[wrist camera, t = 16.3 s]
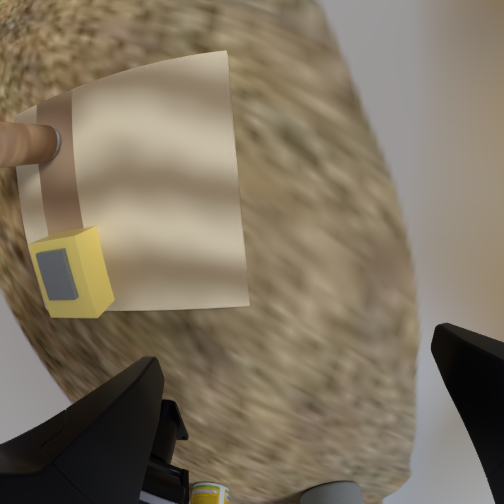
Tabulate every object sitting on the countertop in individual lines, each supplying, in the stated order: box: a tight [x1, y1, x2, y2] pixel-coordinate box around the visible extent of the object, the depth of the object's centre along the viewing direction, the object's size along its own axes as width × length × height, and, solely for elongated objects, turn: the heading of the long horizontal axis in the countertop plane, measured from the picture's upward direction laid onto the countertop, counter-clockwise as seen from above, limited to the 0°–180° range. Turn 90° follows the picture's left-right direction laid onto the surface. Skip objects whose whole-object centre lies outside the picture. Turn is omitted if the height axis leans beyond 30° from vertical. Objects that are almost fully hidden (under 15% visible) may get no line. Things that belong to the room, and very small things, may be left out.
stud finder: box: [28, 226, 115, 318], centre depth 18 cm, size 6×5×4 cm
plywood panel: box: [15, 51, 250, 311], centre depth 19 cm, size 18×19×1 cm
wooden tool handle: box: [0, 122, 62, 168], centre depth 14 cm, size 3×3×7 cm
